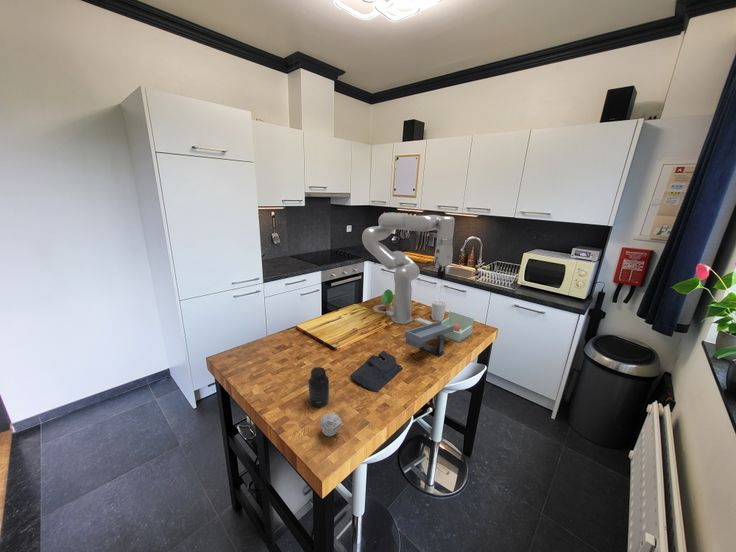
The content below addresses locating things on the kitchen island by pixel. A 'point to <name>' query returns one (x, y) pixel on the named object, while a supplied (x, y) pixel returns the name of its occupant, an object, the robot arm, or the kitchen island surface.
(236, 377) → the kitchen island surface
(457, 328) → the ball
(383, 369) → the folded navy shirt
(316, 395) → the supplement bottle
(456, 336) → the bin
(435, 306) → the white cup
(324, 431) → the gray yarn ball
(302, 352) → the kitchen island surface
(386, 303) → the cactus trinket dish
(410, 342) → the lever
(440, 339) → the lever stand
